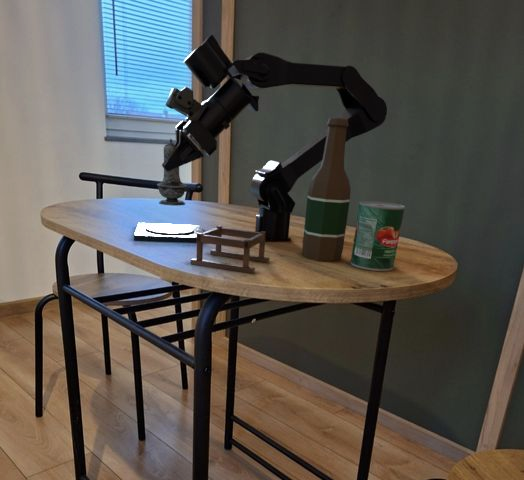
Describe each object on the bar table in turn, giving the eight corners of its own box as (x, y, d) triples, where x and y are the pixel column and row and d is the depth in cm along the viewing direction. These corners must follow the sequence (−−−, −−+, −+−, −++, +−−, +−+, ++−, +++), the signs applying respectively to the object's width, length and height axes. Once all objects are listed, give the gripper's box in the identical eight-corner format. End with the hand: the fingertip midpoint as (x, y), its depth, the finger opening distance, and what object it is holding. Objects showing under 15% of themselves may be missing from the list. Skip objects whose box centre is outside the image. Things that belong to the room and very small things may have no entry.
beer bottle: (343, 255, 93) (362, 121, 84) (338, 263, 86) (359, 118, 77) (305, 250, 95) (319, 118, 85) (297, 258, 88) (312, 115, 78)
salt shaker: (171, 200, 99) (169, 138, 94) (192, 204, 96) (192, 139, 91) (151, 203, 94) (148, 137, 89) (173, 206, 91) (172, 139, 86)
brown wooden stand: (212, 253, 87) (213, 224, 85) (269, 261, 84) (271, 232, 82) (190, 264, 79) (190, 232, 77) (252, 273, 76) (254, 241, 74)
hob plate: (201, 229, 107) (201, 224, 107) (205, 242, 95) (205, 236, 94) (138, 227, 105) (137, 221, 104) (133, 240, 92) (133, 233, 92)
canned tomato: (354, 258, 92) (363, 199, 87) (395, 264, 89) (407, 204, 85) (346, 266, 85) (355, 203, 80) (390, 273, 82) (402, 209, 78)
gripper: (185, 77, 95) (131, 134, 96) (198, 66, 78) (133, 135, 80) (223, 123, 100) (171, 176, 102) (243, 122, 84) (181, 185, 85)
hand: (164, 168), depth 92 cm, fingers closed on salt shaker, 3 cm apart
